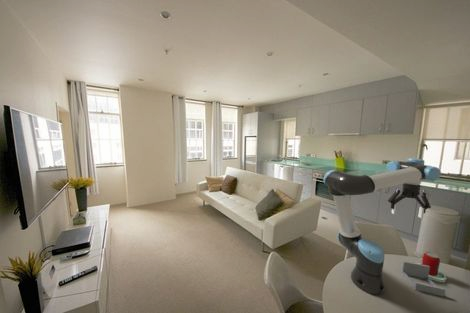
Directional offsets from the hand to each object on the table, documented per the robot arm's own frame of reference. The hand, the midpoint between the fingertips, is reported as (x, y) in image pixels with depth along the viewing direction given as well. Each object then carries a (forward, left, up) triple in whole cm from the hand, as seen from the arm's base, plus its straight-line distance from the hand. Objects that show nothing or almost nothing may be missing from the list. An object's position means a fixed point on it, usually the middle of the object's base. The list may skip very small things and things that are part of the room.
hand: (406, 215), depth 109 cm
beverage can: (+13, -3, -34) cm, 36 cm away
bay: (+3, -15, -34) cm, 37 cm away
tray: (+14, -3, -34) cm, 37 cm away
